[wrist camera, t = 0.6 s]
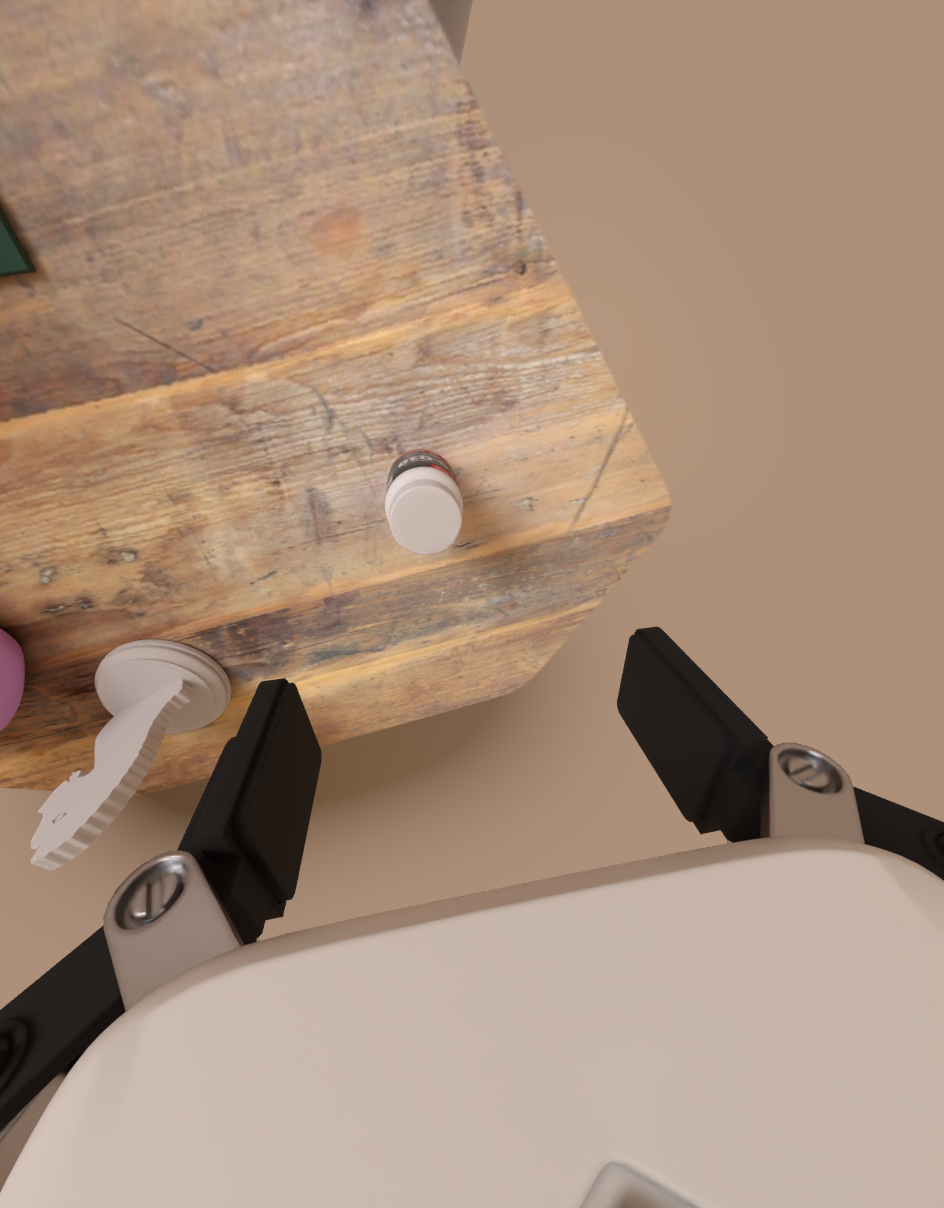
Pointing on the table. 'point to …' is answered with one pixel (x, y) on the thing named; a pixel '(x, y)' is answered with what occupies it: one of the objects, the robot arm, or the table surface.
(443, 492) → the pill bottle
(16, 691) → the teapot
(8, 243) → the mat
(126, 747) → the chess piece
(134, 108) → the table surface
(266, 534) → the table surface
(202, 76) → the table surface
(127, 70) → the table surface
